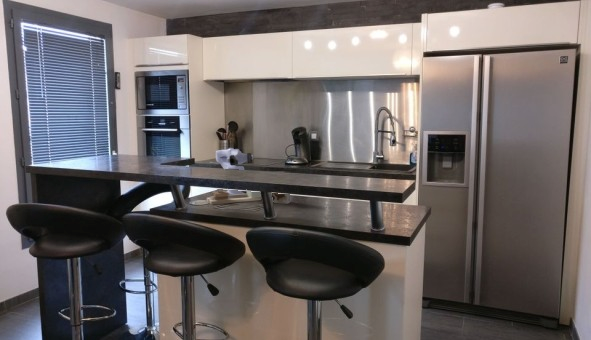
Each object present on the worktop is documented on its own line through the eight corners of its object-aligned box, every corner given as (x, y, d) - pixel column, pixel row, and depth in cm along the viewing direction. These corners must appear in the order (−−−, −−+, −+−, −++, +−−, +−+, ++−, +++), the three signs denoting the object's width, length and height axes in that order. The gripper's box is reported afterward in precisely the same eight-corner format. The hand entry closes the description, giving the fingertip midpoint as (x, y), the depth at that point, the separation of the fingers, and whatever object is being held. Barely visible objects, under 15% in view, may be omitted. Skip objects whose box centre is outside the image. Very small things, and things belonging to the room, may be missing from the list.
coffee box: (270, 202, 236) (270, 172, 234) (275, 200, 242) (275, 170, 240) (287, 204, 233) (287, 173, 231) (291, 201, 239) (291, 171, 237)
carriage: (212, 197, 239) (212, 184, 238) (225, 196, 242) (224, 183, 241) (215, 199, 234) (215, 186, 233) (228, 198, 237) (228, 185, 235)
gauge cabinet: (246, 194, 248) (246, 187, 248) (258, 193, 251) (258, 186, 250) (251, 197, 241) (251, 190, 240) (263, 196, 244) (263, 189, 243)
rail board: (206, 200, 240) (206, 195, 240) (259, 195, 253) (259, 190, 252) (211, 204, 231) (211, 198, 231) (266, 199, 244) (266, 194, 243)
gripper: (224, 151, 248) (230, 155, 235) (249, 148, 253) (256, 152, 240) (225, 164, 249) (231, 168, 237) (250, 160, 254) (257, 165, 242)
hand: (244, 161), depth 239 cm, fingers open, 7 cm apart
